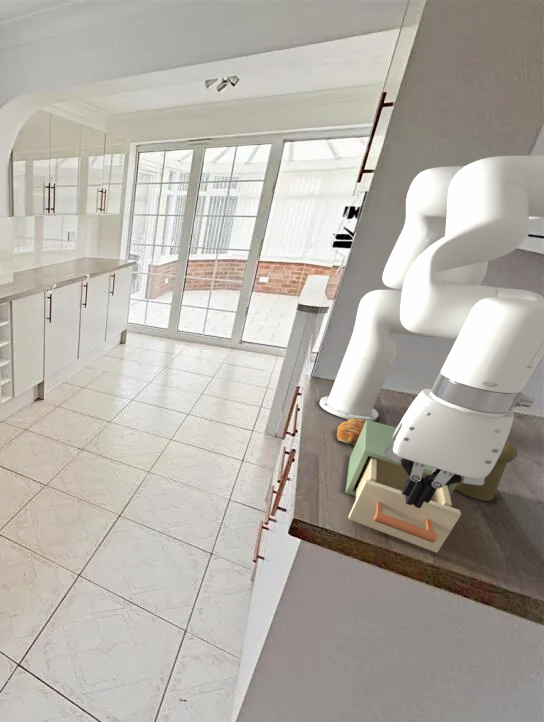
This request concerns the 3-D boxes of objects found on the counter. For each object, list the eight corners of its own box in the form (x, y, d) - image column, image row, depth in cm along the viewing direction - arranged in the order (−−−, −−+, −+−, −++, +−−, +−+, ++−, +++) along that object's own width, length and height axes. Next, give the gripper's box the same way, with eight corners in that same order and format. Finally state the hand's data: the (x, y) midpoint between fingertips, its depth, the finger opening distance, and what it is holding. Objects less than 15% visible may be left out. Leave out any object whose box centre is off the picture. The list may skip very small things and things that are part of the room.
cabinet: (433, 524, 70) (460, 479, 66) (345, 492, 77) (364, 450, 73) (426, 482, 81) (449, 441, 77) (349, 458, 88) (366, 419, 84)
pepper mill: (447, 476, 83) (474, 429, 78) (488, 488, 80) (519, 440, 75) (453, 491, 78) (481, 443, 74) (497, 505, 75) (530, 455, 71)
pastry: (362, 452, 90) (368, 437, 88) (327, 439, 95) (333, 424, 93) (374, 438, 95) (381, 424, 94) (341, 426, 100) (346, 413, 98)
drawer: (440, 573, 60) (466, 533, 56) (346, 535, 66) (364, 497, 63) (429, 506, 73) (449, 471, 70) (352, 480, 79) (367, 446, 76)
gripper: (547, 400, 52) (476, 510, 60) (398, 369, 61) (353, 469, 69) (566, 423, 47) (485, 540, 55) (400, 386, 55) (350, 493, 63)
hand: (412, 501), depth 62 cm, fingers closed
